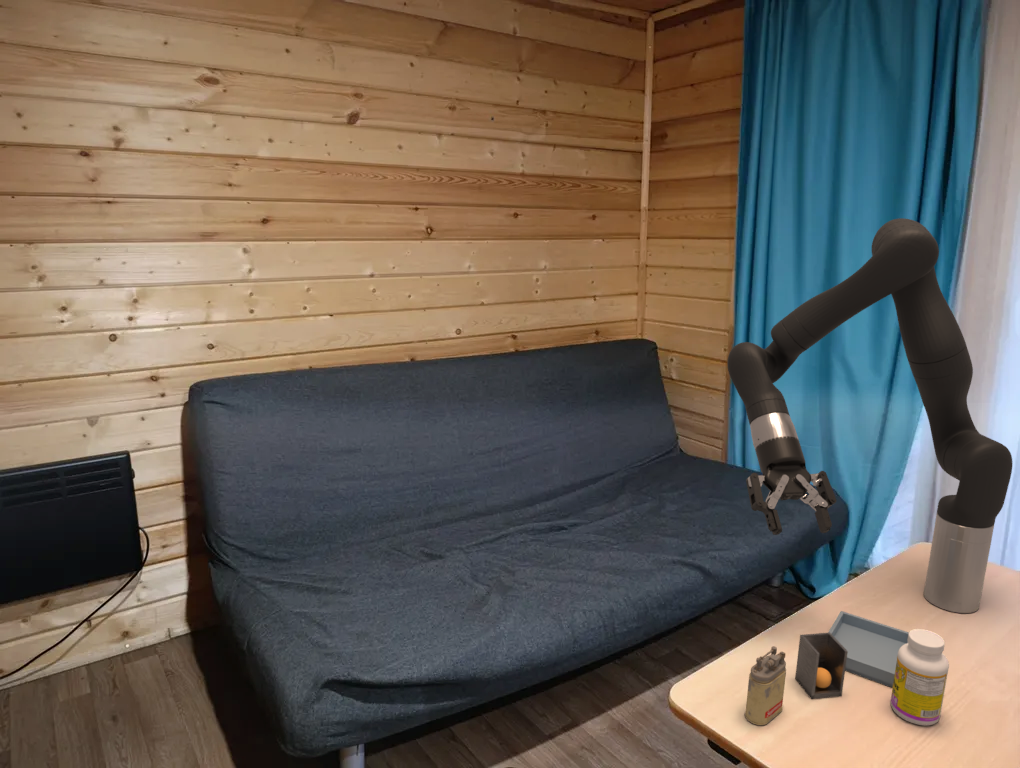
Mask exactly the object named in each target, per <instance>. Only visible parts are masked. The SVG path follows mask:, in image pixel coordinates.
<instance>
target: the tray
mask: <svg viewBox="0 0 1020 768" xmlns="http://www.w3.org/2000/svg"><path fill="white" fill-rule="evenodd" d="M829 632H830V633H831V634H832V635H833V636H834V637H835V638H836V639H837V641H838V642H839V643H840V644H841V645H842V646H843V647H844V648H845V649H846V650H847V651H848V653H847V661H846V668H845V672H848V673H851V674H854V675H856V676H858V677H862V678H864V679H867V680H870V681H873V682H874V683H878V684H880V685H881V684H882V685H884V686H886V687H889V688H893V681H894V675H895V669H896V663H897V656H898V651H899V649H900V647H901V646H903V645H904V644H907V643H908V641H907V639H908V634H909V632H910V631H905V630H903V629H900V628H897V627H894V626H891V625H887V624H885V623H884V624H883V623H881V622H878V621H875V620H872V619H868V618H865V617H861V616H859V615H856V614H852V613H849V612H847V611H843V610H840V612H839V614H838V615H837V617H836V619H835V620H834V621H833V624H832V625H831V627H830V629H829V630H828V632H827V633H829Z"/></svg>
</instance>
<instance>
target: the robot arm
mask: <svg viewBox="0 0 1020 768" xmlns="http://www.w3.org/2000/svg"><path fill="white" fill-rule="evenodd" d="M939 252H940V250H939V245H938V242H937V240H936V238H935V237H934V236H933V234H932V233H931V232H930V230H928V229H927V227H926V226H925V225H923V224H922V223H920V222H918V221H916V220H913V219H910V218H903V217H902V218H899V217H898V218H894V219H891V220H888V221H887V222H886V223H884V224H883V225H882V226H880V228H879V229H878V230H877V231H876V233H875V235H874V237H873V239H872V242H871V257H870V258H869V259H868V260H867V261H866V262H865V263H864V264H863V265H862V266H861V267H860V268H859V269H858V270H856V271H855V272H854V273H853V274H851V275H850V276H849V277H847V278H845V279H844V280H843V281H842V282H840V283H838V284H837V285H835V286H833V287H830V288H829V289H827V290H825V291H823V292H821V293H819V294H817V295H815V296H813V297H812V298H810V299H808V300H807V301H805V302H803V303H801V304H800V305H799V306H798V307H796V308H795V309H793V310H792V311H791V312H789V313H788V314H787V315H786V316H784V317H783V318H782V319H781V320H779V321H778V322H777V323H776V324H775V325H774V326H772V328H771V330H770V336H771V339H772V342H770V344H768V346H766V348H763V347H761V346H759V345H758V344H755V343H754V342H750V341H749V342H748V341H745V342H740V343H737V344H735V346H734V347H732V348H731V350H730V351H729V354H728V355H727V356H728V357H727V371H728V374H729V377H730V380H731V382H732V384H733V386H734V388H735V389H736V391H737V393H738V396H739V397H740V399H741V401H742V402H743V404H744V407H745V411H746V416H747V419H748V424H749V426H750V432H751V433H750V434H751V440H752V444H753V448H754V450H755V454H756V458H757V461H758V466H759V470H760V472H761V473H762V475H759V474H758V472H757V473H756V472H753V473H751V474H750V475H749V476H748V477H747V478H746V479H745V482H746V487H747V488H746V489H747V493H748V497H749V502H750V503H749V504H750V508H751V510H753V511H754V512H758V511H759V512H761V513H763V514H764V517H765V521H766V524H767V528H768V530H769V532H771V533H772V535H773V536H777V535H780V534H781V533H782V532H783V528H782V523H781V521H780V517H779V513H778V510H777V509H775V508H776V506H777V503H778V502H779V500H780V501H786V500H793V501H797V500H800V501H802V502H803V503H804V504H806V505H808V506H810V507H811V509H812V510H814V511H815V512H814V516H815V518H816V523H817V525H818V529H819V531H820V533H821V534H826V533H828V532H829V531H830V530H831V528H832V525H833V523H832V520H831V517H830V514H829V513H830V512H829V511H828V509H830V508H831V507H832V506H833V505H835V504H836V503H837V497H836V496H835V495H836V494H835V493H834V490H833V487H832V485H831V482H830V479H829V477H828V475H827V472H826V471H825V470H820V471H818V473H810V472H809V471H808V469H807V467H806V458H805V456H804V455H805V454H804V453H803V449H802V446H801V443H800V439H799V437H798V433H797V431H796V427H795V425H794V423H793V421H792V418H791V416H790V412H789V410H788V405H787V402H786V398H785V397H784V395H783V393H782V391H781V390H780V389H778V388H777V386H775V383H776V382H777V381H779V380H780V379H781V378H782V377H783V376H784V374H785V373H786V372H787V371H788V370H789V369H790V367H791V366H792V365H794V363H795V362H796V361H797V359H798V357H800V355H801V354H803V353H804V352H805V351H808V350H809V349H810V348H811V347H813V346H814V345H815V344H817V343H818V342H819V341H821V340H822V339H823V338H825V337H826V336H827V335H829V334H830V333H832V331H834V330H835V329H837V328H838V327H840V326H841V325H842V324H844V323H845V322H846V321H848V320H850V319H852V318H854V317H855V316H856V315H858V314H859V313H861V312H862V311H864V310H866V309H867V308H869V307H871V306H872V305H874V304H875V303H878V302H879V301H881V300H883V299H884V298H886V297H888V296H890V295H891V297H892V300H893V303H894V306H895V311H896V317H897V318H896V319H897V322H898V327H899V332H900V336H901V340H902V344H903V347H904V352H905V356H906V358H907V362H908V365H909V368H910V370H911V374H912V376H913V379H914V380H915V383H916V387H917V389H918V392H919V396H920V398H921V402H922V405H923V407H924V410H925V413H926V415H927V419H928V424H929V426H930V427H929V429H930V432H931V433H930V434H931V437H932V438H931V439H932V443H933V449H934V454H935V457H936V460H937V462H938V465H939V466H940V467H941V469H942V470H943V471H944V472H945V473H946V474H947V475H949V476H950V477H952V478H954V479H956V480H958V481H959V482H958V487H957V491H956V494H949V495H944V496H942V497H941V498H940V499H938V500H939V501H938V503H937V509H936V516H935V522H934V529H933V535H932V542H931V547H930V551H929V553H930V554H929V558H928V563H927V564H928V566H927V571H926V577H925V583H924V588H923V589H924V590H923V597H924V598H925V599H926V600H927V601H928V602H929V603H930V604H932V605H934V606H935V607H937V608H940V609H943V610H945V611H948V612H952V613H959V614H970V613H971V614H972V613H974V612H976V611H978V610H979V608H980V604H981V599H982V593H983V588H984V583H985V578H986V573H987V567H988V561H989V556H990V550H991V546H992V539H993V533H994V529H995V523H996V519H997V516H998V515H999V514H1000V513H1001V511H1002V510H1003V507H1004V505H1005V500H1006V497H1007V493H1008V489H1009V486H1010V485H1009V484H1010V482H1011V478H1012V477H1011V476H1012V473H1013V465H1014V464H1013V463H1014V462H1013V456H1012V453H1011V451H1010V449H1009V448H1008V447H1007V446H1006V445H1004V444H1003V443H1000V442H999V441H997V440H994V439H993V438H990V437H988V436H985V435H983V434H982V433H980V432H979V430H977V428H976V426H975V424H974V422H973V419H972V417H971V414H970V410H969V407H968V401H967V400H968V395H969V391H970V387H971V384H972V380H973V375H974V371H973V370H974V368H973V363H972V359H971V355H970V351H969V349H968V347H967V343H966V339H965V338H964V335H963V332H962V330H961V328H960V326H959V323H958V321H957V319H956V317H955V315H954V314H953V312H952V310H951V308H950V305H949V304H948V302H947V300H946V298H945V297H944V294H943V292H942V291H941V287H940V285H939V282H938V278H937V274H936V268H935V266H936V265H937V264H936V263H937V262H938V259H939V255H940V253H939ZM811 483H812V484H813V485H812V484H811ZM763 486H765V487H766V488H767V489H768V490H769V493H768V495H767V497H766V498H765V501H764V496H763V492H762V487H763ZM814 487H816V488H814ZM806 493H808V494H806Z"/></svg>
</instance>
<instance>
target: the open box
mask: <svg viewBox="0 0 1020 768" xmlns="http://www.w3.org/2000/svg"><path fill="white" fill-rule="evenodd" d="M828 632H829V631H828ZM828 632H819V633H817V632H815V633H806V634H799V642H798V651H797V660H796V667H795V678H794V679H795V680H796V682H797V683H798V684H799V685H800V687H801V688H802V689H803V690H804V692H805V693H806V694H807V696H808V697H809V698H810V699H811V700H814V699H815V700H816V699H825V698H826V699H827V698H838V697H842V695H843V690H844V689H843V688H844V681H845V673H846V671H845V668H846V661H847V653H848V651H847V650H846V649H845V648H844V647H843V646H842V645H841V644H840V643H839V642H838V641H837V639H836V638H835V637H834V636H833V635H832V634H831V633H830V632H829V633H828ZM818 668H824V669H826V670H827V671H828V672H829V673H830V675H831V678H832V680H831V684H830V685H829V686H828V687H826V688H819V687H817V686H816V678H817V670H818Z"/></svg>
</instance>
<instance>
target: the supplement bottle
mask: <svg viewBox="0 0 1020 768" xmlns="http://www.w3.org/2000/svg"><path fill="white" fill-rule="evenodd" d="M908 632H909V634H908V639H907V641H908V643H907V644H904V645H903V646H901V647H900V649H899V651H898V656H897V663H896V669H895V675H894V681H893V688H892V689H891V694H890V696H891V697H890V706H891V708H892V710H893V712H894V713H895V714H896V715H897V716H899V717H900V718H901V719H902V720H904V721H906V722H908V723H911V724H914V725H917V726H932V725H935V724H936V723H938V722H939V720H940V718H941V713H942V708H943V703H944V696H945V692H946V691H945V690H946V687H947V686H946V684H947V678H948V673H949V668H950V663H949V660H948V657H947V656H946V655H945V654H944V653H943V652H944V651H945V645H946V643H945V642H946V641H945V640H944V638H943V637H942V636H941V635H939V634H938V633H936V632H934V631H931V630H927V629H923V628H914V629H911V630H910V631H908Z"/></svg>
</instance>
